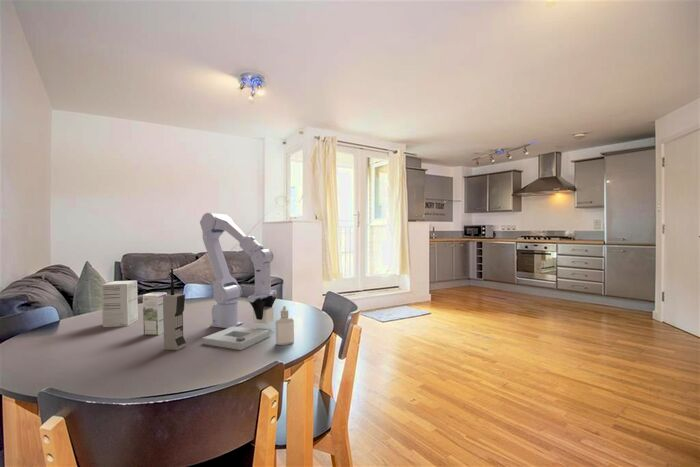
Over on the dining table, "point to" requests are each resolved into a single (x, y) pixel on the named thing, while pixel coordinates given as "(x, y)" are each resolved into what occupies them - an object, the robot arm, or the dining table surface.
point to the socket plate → (236, 337)
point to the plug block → (264, 316)
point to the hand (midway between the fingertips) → (263, 317)
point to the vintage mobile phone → (173, 319)
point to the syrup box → (153, 313)
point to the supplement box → (119, 303)
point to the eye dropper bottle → (284, 328)
